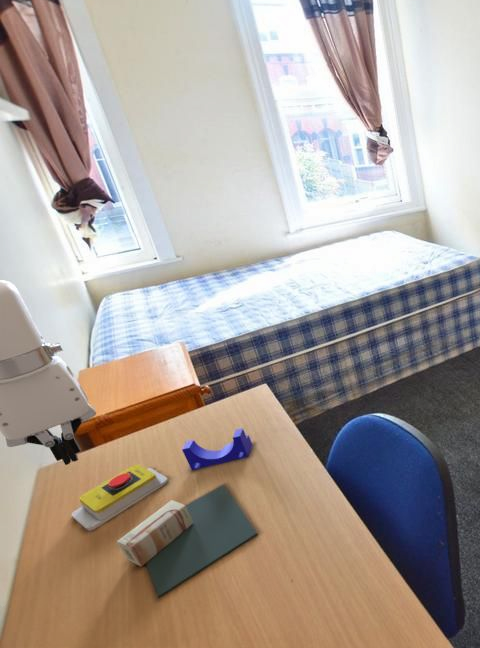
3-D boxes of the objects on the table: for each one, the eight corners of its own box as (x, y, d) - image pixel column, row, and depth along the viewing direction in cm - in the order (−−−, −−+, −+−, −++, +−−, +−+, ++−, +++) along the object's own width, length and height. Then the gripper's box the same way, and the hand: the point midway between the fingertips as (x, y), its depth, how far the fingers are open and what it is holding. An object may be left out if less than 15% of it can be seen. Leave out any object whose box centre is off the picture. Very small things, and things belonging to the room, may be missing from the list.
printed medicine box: (130, 548, 81) (185, 504, 90) (115, 541, 83) (170, 498, 91) (143, 568, 83) (195, 523, 92) (127, 561, 85) (180, 517, 93)
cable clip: (252, 444, 114) (244, 424, 111) (248, 456, 110) (239, 436, 107) (198, 457, 111) (189, 437, 109) (191, 470, 107) (181, 449, 105)
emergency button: (162, 465, 103) (79, 515, 91) (170, 481, 104) (89, 532, 93) (142, 454, 107) (61, 500, 96) (150, 469, 109) (71, 516, 97)
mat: (158, 597, 78) (158, 596, 78) (135, 534, 91) (134, 533, 91) (257, 534, 88) (257, 532, 88) (224, 485, 101) (223, 484, 101)
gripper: (79, 337, 78) (123, 428, 85) (-53, 375, 68) (9, 473, 75) (83, 350, 73) (130, 445, 80) (-59, 392, 63) (8, 496, 70)
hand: (71, 459), depth 77 cm, fingers closed
